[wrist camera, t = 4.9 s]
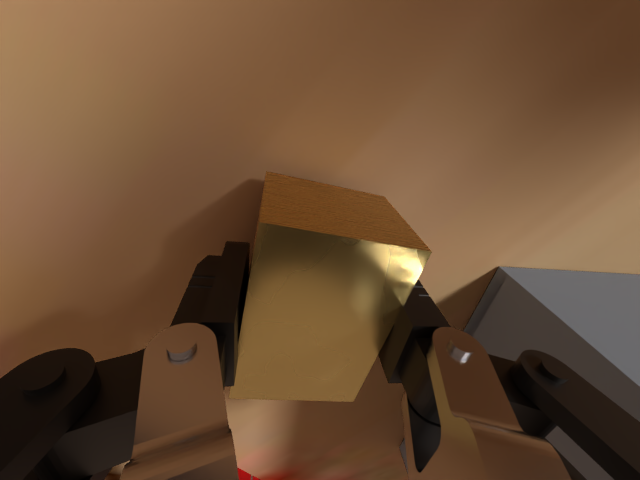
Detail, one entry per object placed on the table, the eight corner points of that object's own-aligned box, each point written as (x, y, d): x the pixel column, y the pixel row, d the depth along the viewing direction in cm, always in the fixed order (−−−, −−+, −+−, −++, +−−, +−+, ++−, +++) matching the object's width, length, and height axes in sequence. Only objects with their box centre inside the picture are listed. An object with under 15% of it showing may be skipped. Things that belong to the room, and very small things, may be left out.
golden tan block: (266, 171, 9) (258, 222, 6) (384, 196, 10) (431, 251, 7) (242, 313, 11) (228, 398, 8) (335, 322, 12) (353, 401, 9)
